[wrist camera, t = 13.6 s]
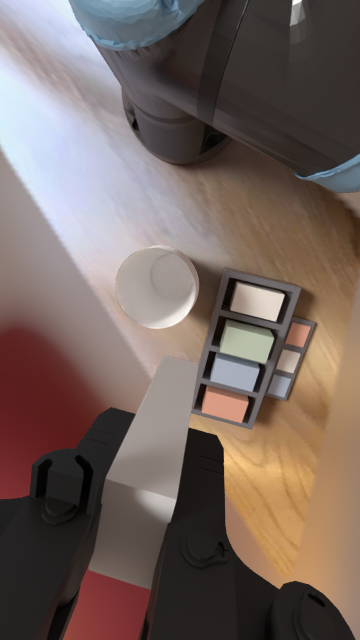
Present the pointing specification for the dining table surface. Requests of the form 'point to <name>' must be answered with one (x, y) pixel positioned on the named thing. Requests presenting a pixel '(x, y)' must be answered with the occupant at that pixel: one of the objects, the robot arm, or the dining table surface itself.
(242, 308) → the key ivory
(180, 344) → the dining table surface
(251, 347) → the key sage
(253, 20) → the robot arm
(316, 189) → the dining table surface
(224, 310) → the keypad
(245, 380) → the key slate
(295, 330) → the strip
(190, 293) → the cup
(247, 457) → the dining table surface
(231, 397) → the key terracotta
